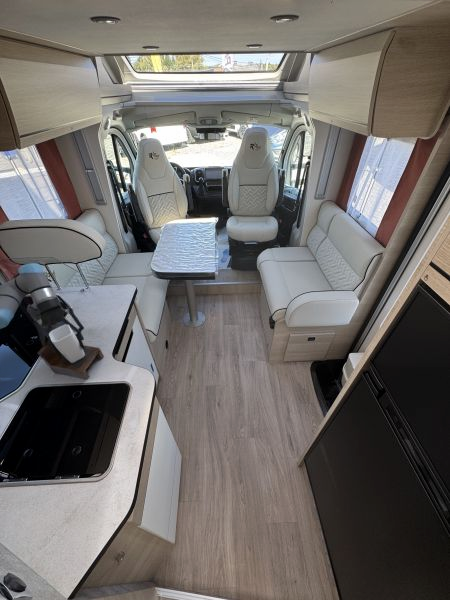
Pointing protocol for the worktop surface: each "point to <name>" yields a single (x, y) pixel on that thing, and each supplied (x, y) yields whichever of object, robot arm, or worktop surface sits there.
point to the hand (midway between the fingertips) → (72, 353)
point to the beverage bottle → (36, 316)
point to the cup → (67, 343)
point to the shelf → (66, 366)
